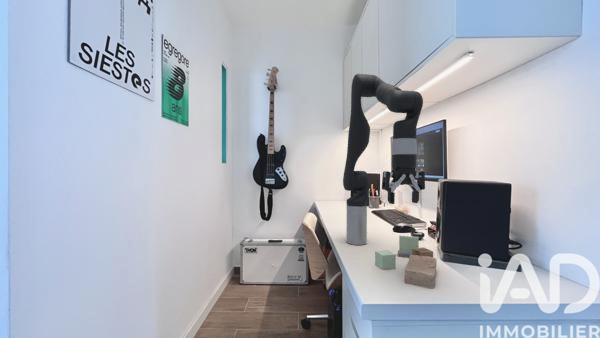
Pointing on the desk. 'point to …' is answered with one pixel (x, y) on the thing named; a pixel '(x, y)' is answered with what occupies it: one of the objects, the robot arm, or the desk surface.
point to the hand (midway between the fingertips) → (403, 203)
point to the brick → (421, 271)
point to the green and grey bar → (407, 245)
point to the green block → (385, 259)
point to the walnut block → (422, 252)
